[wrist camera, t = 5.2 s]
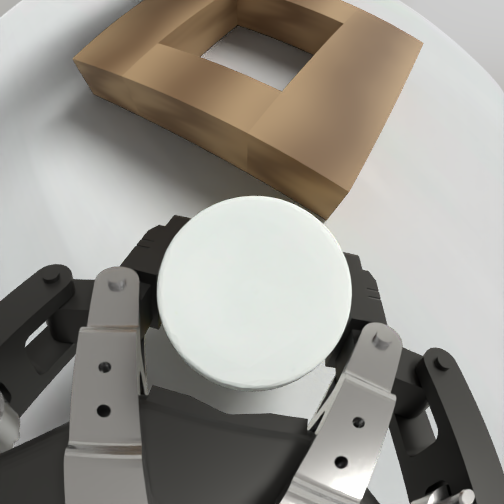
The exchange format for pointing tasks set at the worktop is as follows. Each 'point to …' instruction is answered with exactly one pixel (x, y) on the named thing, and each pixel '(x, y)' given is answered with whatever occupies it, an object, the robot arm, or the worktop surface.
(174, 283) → the supplement bottle
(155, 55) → the sleeve block
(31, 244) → the worktop surface
